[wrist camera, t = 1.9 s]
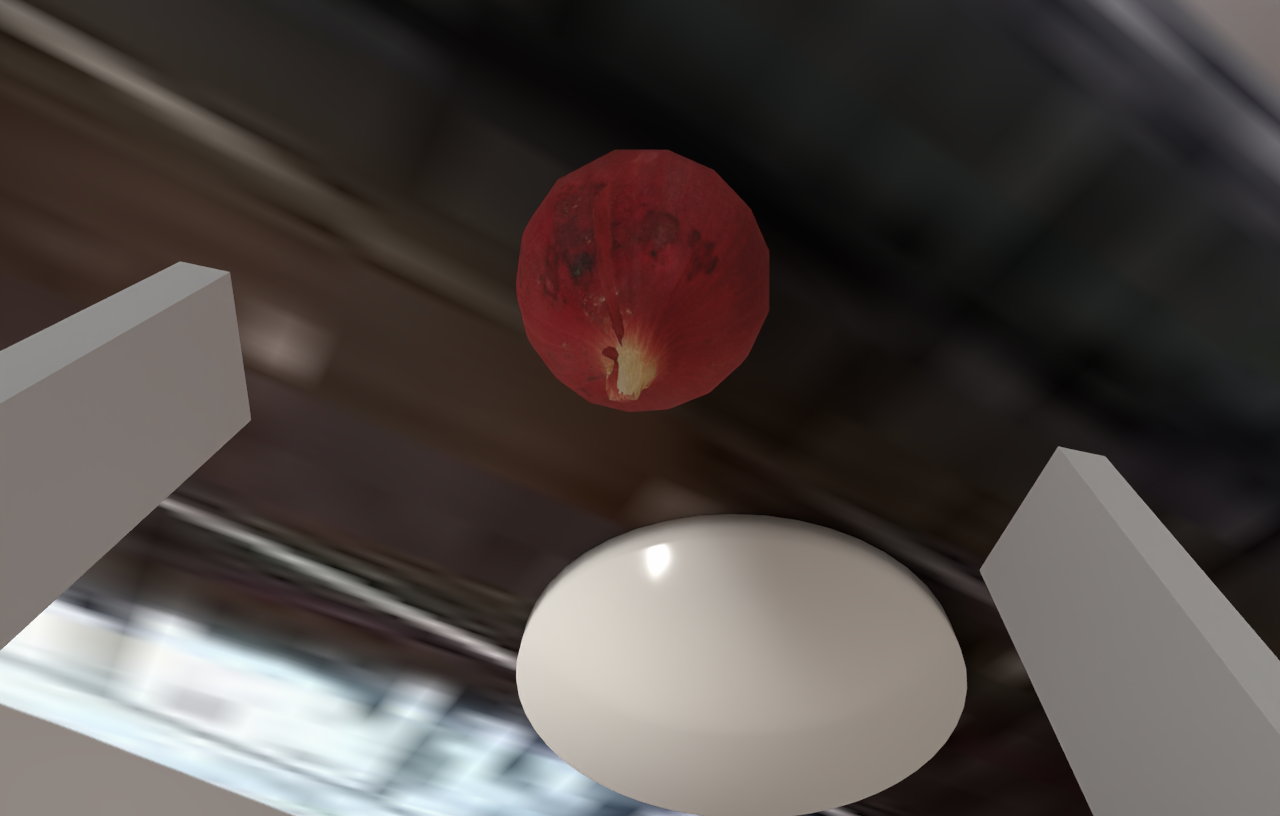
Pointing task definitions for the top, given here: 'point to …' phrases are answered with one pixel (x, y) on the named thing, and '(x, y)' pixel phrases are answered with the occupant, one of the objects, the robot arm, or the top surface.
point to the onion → (642, 280)
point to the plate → (741, 667)
